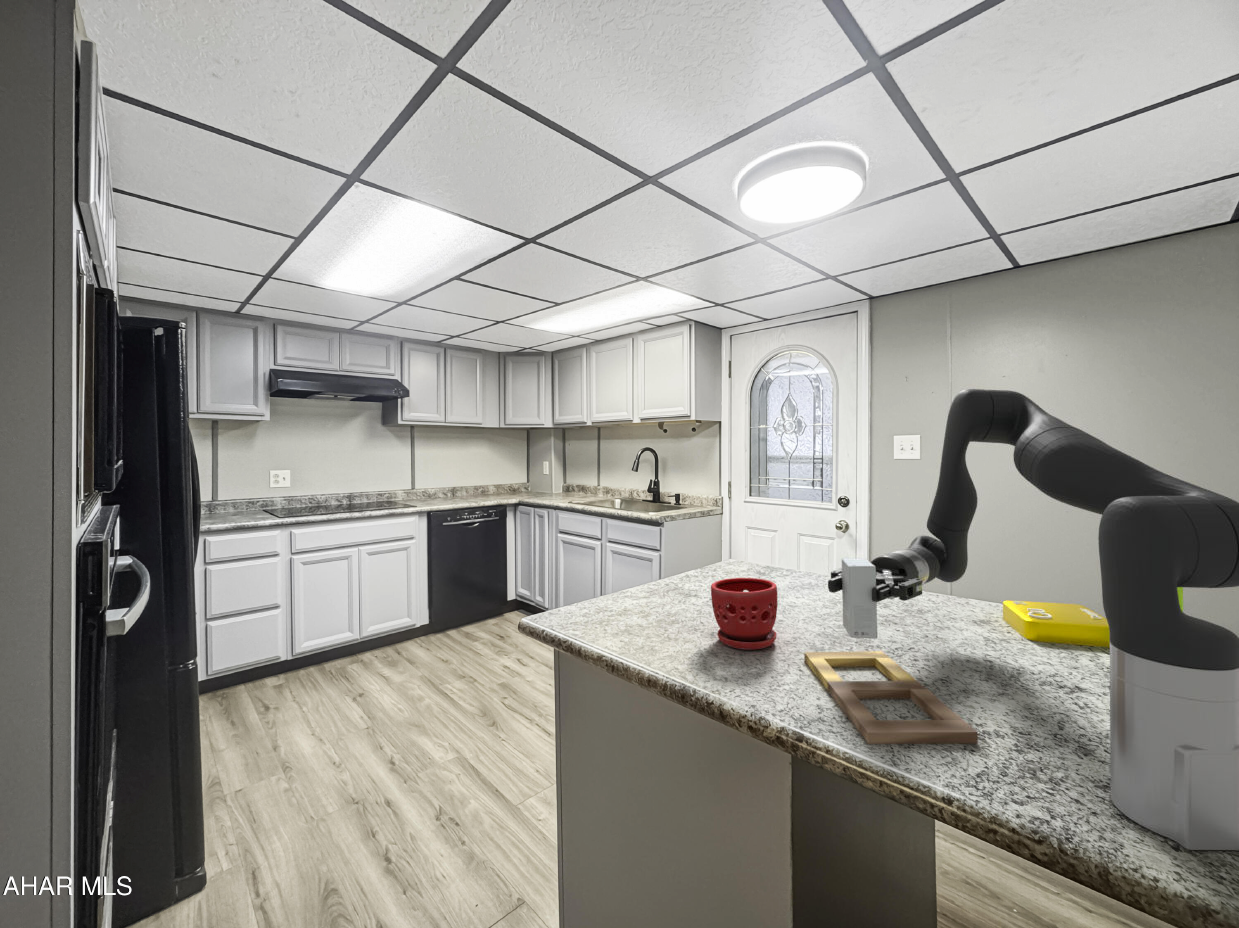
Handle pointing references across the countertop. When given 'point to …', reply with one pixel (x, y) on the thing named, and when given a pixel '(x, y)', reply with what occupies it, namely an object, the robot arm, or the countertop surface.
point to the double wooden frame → (901, 686)
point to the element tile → (1057, 623)
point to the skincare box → (859, 598)
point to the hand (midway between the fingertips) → (851, 590)
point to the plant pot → (745, 612)
